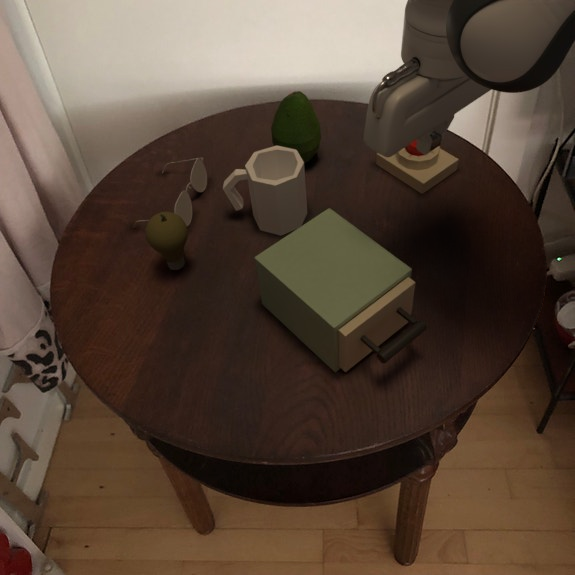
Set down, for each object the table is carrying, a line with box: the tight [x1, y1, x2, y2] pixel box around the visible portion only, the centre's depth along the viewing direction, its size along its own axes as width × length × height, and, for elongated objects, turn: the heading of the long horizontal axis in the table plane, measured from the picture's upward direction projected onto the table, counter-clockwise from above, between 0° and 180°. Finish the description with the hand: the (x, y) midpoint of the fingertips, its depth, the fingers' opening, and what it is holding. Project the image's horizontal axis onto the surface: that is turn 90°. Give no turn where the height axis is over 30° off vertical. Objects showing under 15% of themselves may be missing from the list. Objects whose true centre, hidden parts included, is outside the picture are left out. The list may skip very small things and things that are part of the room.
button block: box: [375, 145, 460, 195], centre depth 98 cm, size 10×8×4 cm
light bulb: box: [145, 211, 189, 271], centre depth 86 cm, size 6×6×10 cm
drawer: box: [338, 277, 428, 373], centre depth 77 cm, size 18×11×8 cm, turn 40°
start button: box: [406, 140, 424, 156], centre depth 96 cm, size 4×4×2 cm
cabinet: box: [253, 207, 413, 373], centre depth 79 cm, size 15×13×10 cm
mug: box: [222, 145, 308, 237], centre depth 91 cm, size 12×9×10 cm
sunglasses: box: [133, 157, 208, 229], centre depth 97 cm, size 14×8×5 cm, turn 167°
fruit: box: [270, 90, 322, 164], centre depth 98 cm, size 8×8×12 cm
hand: (429, 147), depth 76 cm, fingers closed
